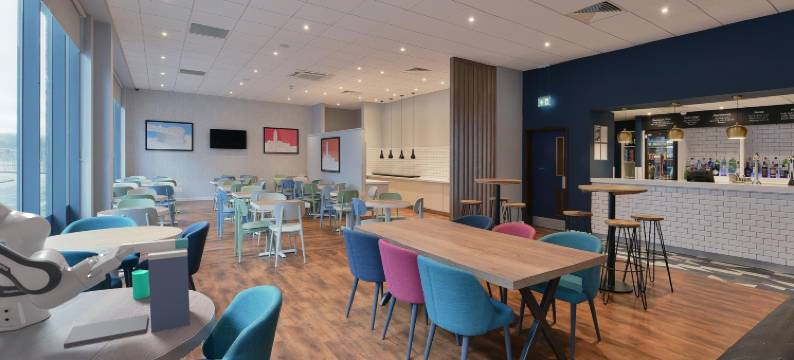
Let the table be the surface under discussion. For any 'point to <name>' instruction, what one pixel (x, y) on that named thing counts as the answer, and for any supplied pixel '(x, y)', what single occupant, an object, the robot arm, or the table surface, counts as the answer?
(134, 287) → the candle
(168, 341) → the table surface
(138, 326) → the board
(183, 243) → the white and teal box
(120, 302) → the table surface
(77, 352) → the table surface
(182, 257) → the tall slate-blue pillar
